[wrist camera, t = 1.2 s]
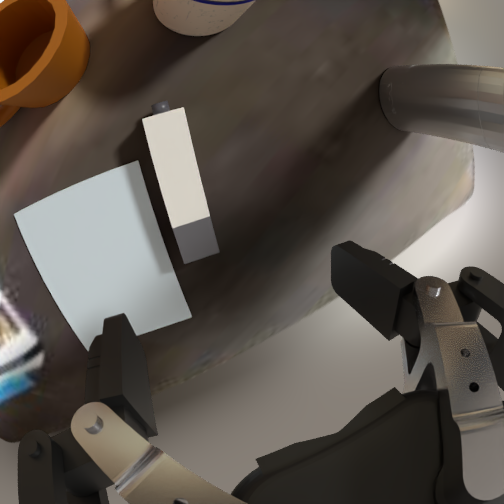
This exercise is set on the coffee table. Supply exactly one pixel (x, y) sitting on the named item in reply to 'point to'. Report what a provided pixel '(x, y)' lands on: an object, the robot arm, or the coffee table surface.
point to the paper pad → (104, 254)
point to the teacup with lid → (199, 15)
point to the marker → (180, 181)
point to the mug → (39, 54)
